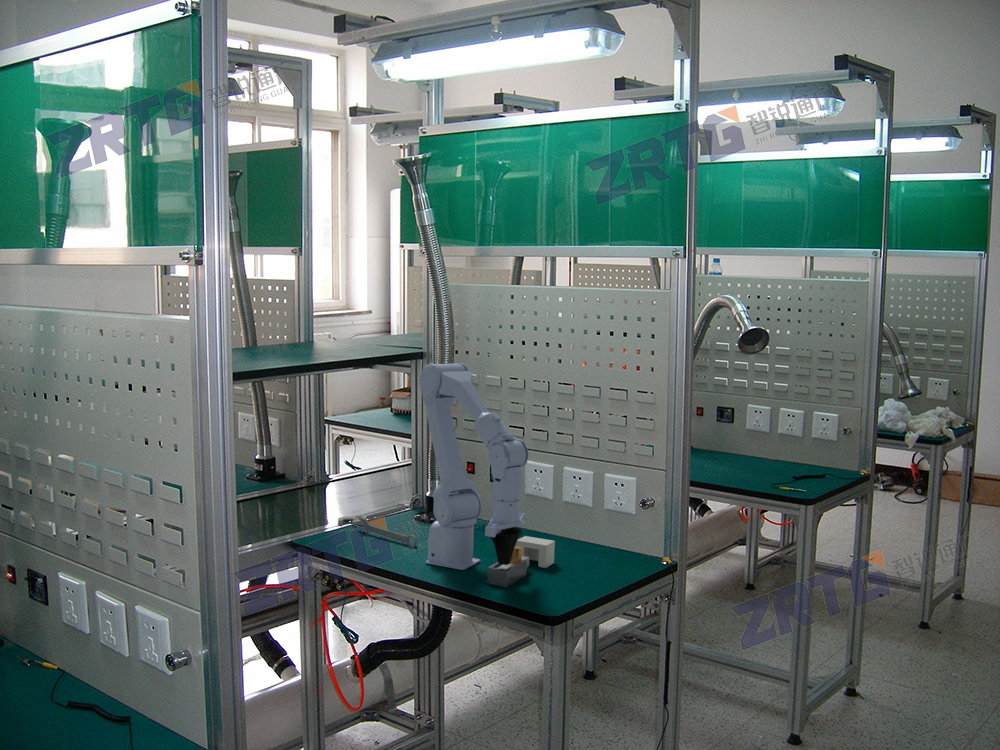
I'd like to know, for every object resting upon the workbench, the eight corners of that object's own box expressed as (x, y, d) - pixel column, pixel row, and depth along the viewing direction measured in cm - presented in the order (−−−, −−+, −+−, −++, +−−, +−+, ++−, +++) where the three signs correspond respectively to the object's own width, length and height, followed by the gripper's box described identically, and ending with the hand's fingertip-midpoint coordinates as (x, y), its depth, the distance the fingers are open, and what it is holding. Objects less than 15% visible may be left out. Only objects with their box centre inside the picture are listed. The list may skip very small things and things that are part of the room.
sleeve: (487, 583, 188) (487, 567, 187) (507, 571, 196) (508, 556, 196) (506, 587, 186) (507, 571, 185) (526, 575, 194) (526, 559, 194)
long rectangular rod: (494, 578, 188) (495, 554, 188) (519, 564, 199) (519, 541, 198) (504, 580, 187) (505, 556, 187) (529, 566, 198) (530, 542, 197)
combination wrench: (418, 533, 213) (360, 515, 225) (414, 534, 212) (356, 516, 224) (417, 549, 213) (359, 530, 226) (414, 550, 212) (355, 531, 225)
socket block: (515, 562, 203) (516, 540, 203) (524, 557, 207) (525, 535, 207) (545, 567, 200) (546, 545, 199) (553, 562, 204) (554, 540, 203)
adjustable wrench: (399, 508, 251) (399, 502, 251) (417, 512, 248) (417, 506, 247) (333, 525, 231) (334, 518, 231) (352, 529, 227) (352, 522, 227)
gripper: (508, 508, 180) (505, 575, 181) (538, 494, 192) (536, 558, 194) (476, 503, 183) (474, 569, 184) (508, 490, 196) (506, 552, 197)
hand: (504, 563), depth 189 cm, fingers closed
